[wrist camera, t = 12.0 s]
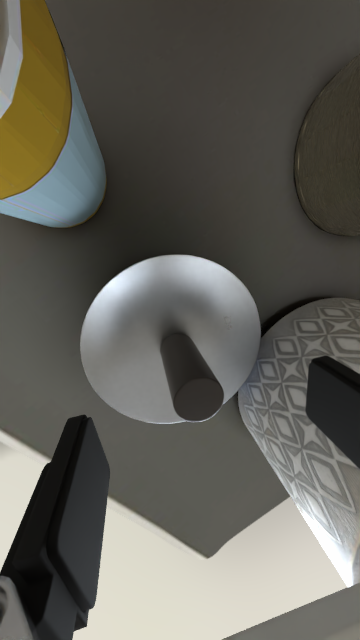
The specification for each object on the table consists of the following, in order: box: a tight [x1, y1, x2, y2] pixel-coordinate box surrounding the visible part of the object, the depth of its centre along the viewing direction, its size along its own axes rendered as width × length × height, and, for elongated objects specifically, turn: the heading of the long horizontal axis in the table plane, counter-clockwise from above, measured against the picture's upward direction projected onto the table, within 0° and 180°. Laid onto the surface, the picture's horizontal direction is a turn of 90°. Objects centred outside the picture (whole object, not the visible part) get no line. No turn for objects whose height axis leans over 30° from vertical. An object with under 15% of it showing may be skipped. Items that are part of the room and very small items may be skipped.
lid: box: [80, 254, 261, 424], centre depth 14 cm, size 14×14×7 cm
